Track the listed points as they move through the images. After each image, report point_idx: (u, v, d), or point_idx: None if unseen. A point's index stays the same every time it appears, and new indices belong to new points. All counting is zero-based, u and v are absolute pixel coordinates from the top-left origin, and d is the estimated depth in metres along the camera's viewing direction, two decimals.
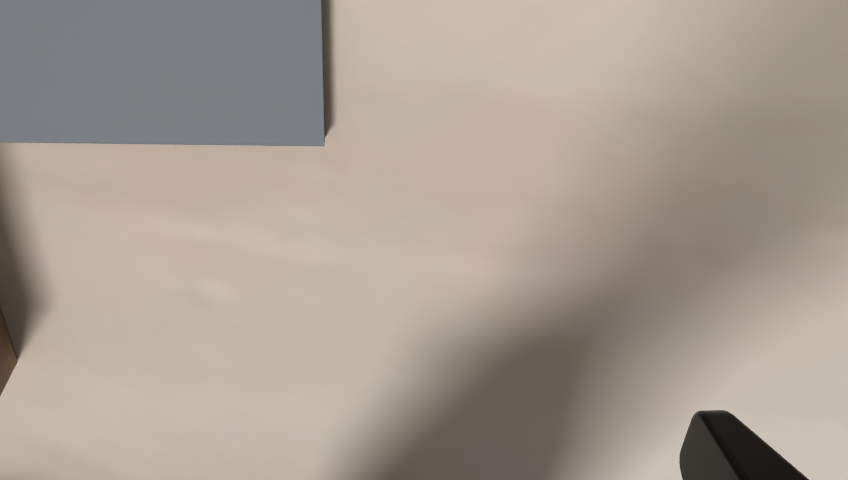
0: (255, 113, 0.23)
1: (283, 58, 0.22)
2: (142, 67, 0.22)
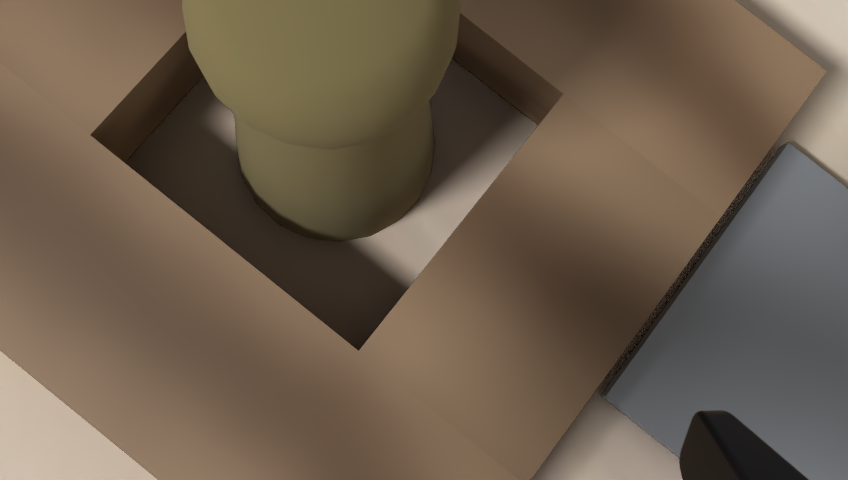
0: None
1: None
2: (787, 440, 0.23)
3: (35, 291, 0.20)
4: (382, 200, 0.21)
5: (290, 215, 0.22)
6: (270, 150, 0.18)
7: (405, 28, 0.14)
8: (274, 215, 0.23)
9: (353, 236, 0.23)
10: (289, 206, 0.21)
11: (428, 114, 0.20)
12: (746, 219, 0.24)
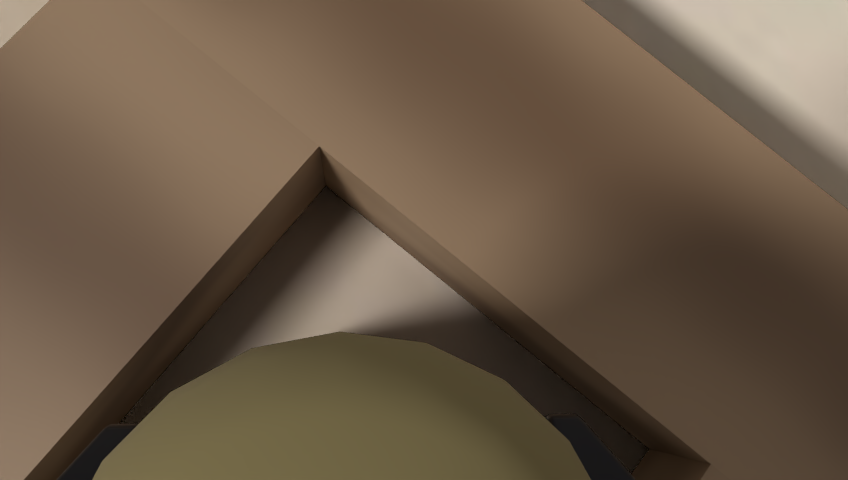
0: None
1: None
2: None
3: None
4: None
5: None
6: None
7: None
8: None
9: None
10: None
11: None
12: None
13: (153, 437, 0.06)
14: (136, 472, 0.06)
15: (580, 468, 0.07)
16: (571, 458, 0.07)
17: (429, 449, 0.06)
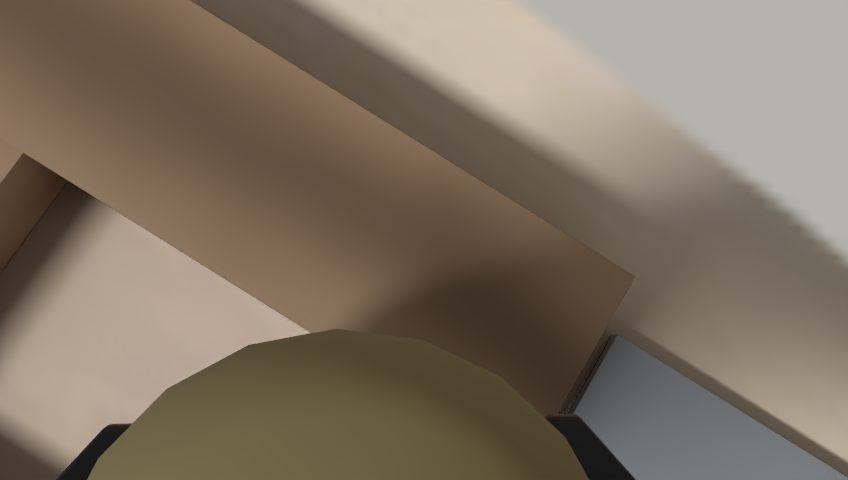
0: None
1: None
2: None
3: None
4: None
5: None
6: None
7: None
8: None
9: None
10: None
11: None
12: None
13: (149, 434, 0.06)
14: (132, 469, 0.06)
15: (576, 465, 0.07)
16: (567, 455, 0.07)
17: (425, 446, 0.06)
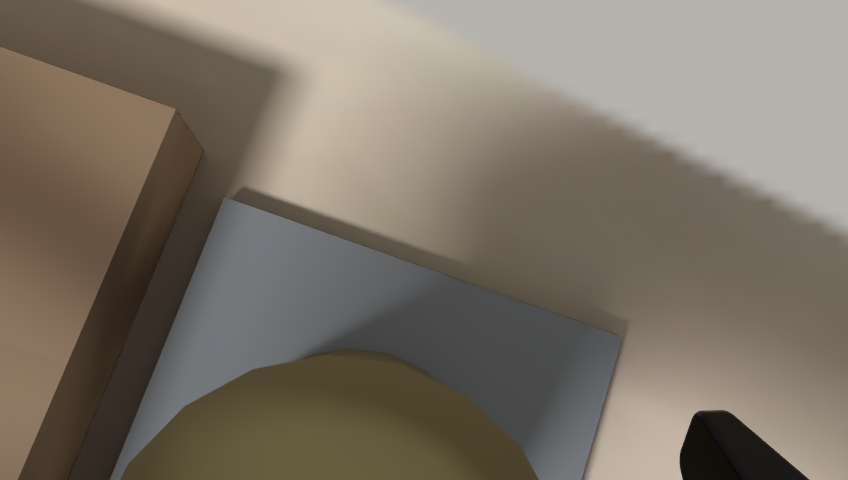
0: None
1: None
2: None
3: None
4: None
5: None
6: None
7: None
8: None
9: None
10: None
11: None
12: (190, 318, 0.18)
13: (171, 445, 0.08)
14: (157, 473, 0.07)
15: (526, 470, 0.08)
16: (518, 462, 0.08)
17: (396, 456, 0.07)
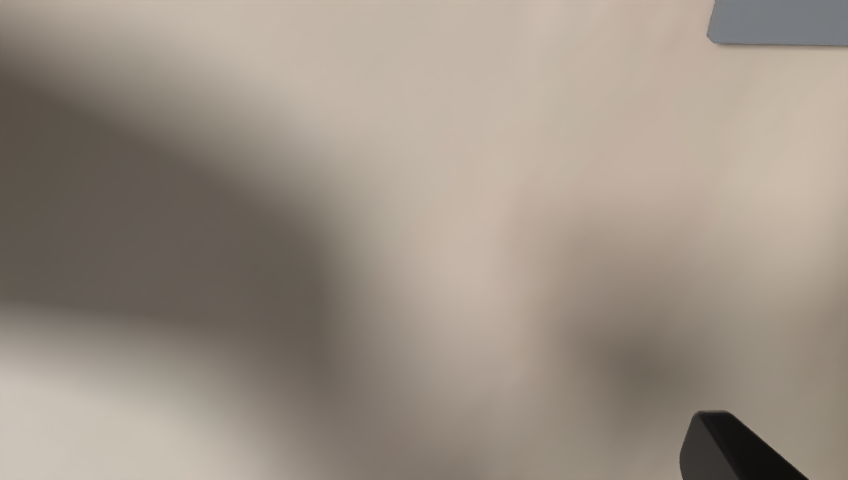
0: None
1: (832, 2, 0.19)
2: None
3: None
4: None
5: None
6: None
7: None
8: None
9: None
10: None
11: None
12: None
13: None
14: None
15: None
16: None
17: None
